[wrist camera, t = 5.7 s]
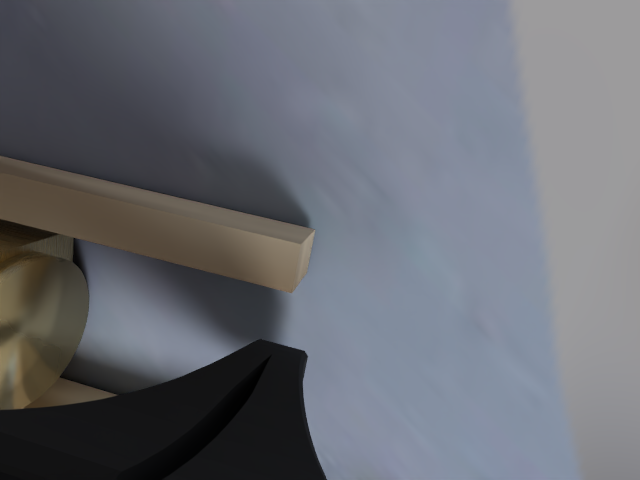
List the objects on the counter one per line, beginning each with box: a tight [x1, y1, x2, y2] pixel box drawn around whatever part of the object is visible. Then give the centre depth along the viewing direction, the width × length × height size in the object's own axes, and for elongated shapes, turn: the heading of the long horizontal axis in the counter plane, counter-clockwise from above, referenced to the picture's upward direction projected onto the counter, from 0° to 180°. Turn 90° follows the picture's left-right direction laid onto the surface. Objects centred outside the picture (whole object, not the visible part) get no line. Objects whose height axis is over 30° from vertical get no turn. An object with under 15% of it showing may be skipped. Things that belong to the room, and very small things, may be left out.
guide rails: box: [0, 156, 315, 409], centre depth 13 cm, size 8×17×2 cm, turn 79°
